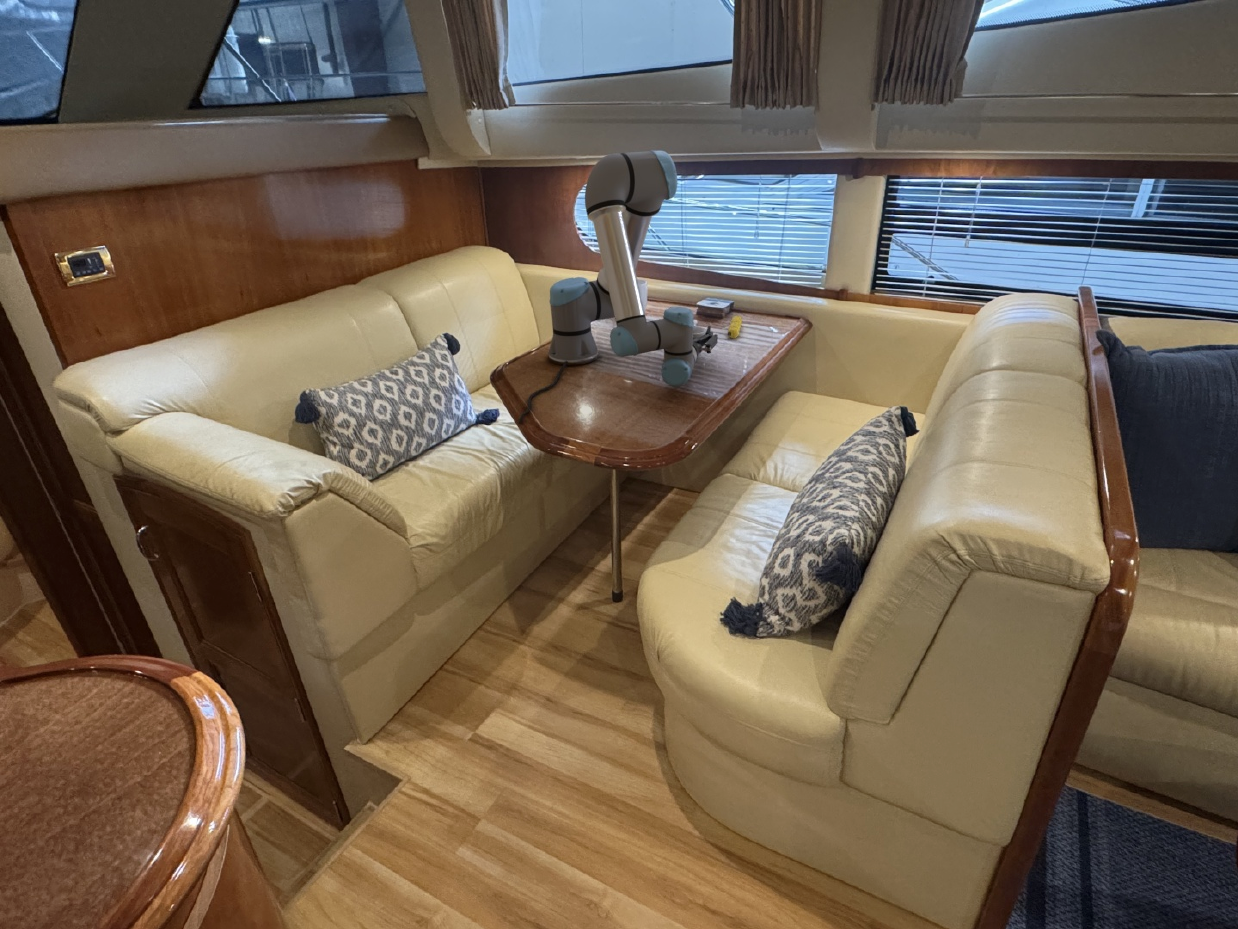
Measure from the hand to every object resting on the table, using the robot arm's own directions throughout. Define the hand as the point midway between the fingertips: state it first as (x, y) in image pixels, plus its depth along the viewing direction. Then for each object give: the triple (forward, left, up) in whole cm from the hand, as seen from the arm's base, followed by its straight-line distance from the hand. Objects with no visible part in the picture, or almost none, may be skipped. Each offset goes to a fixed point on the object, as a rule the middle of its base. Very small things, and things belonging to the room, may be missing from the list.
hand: (695, 329), depth 203 cm
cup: (-5, 0, -6) cm, 8 cm away
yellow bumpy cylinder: (+21, -11, -7) cm, 25 cm away
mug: (+32, +28, -7) cm, 43 cm away
